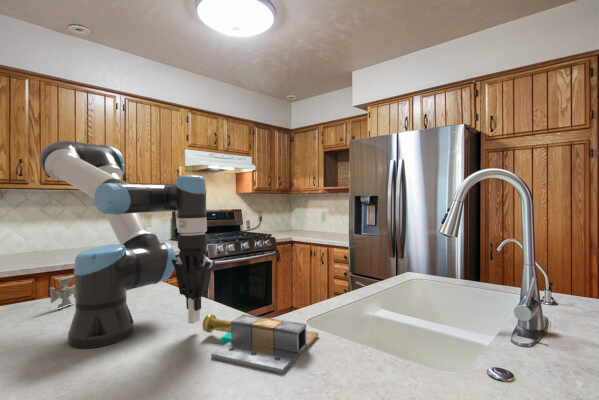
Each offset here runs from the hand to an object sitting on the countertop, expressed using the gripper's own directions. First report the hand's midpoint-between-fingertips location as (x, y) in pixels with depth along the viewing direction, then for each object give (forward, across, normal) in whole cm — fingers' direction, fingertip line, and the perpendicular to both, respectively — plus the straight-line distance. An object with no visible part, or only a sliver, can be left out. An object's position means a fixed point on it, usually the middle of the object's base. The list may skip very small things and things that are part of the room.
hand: (194, 321), depth 91 cm
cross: (+3, -56, 0) cm, 56 cm away
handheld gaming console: (+4, +16, +2) cm, 17 cm away
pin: (+2, +15, 0) cm, 15 cm away
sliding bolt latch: (+3, +23, 0) cm, 23 cm away
